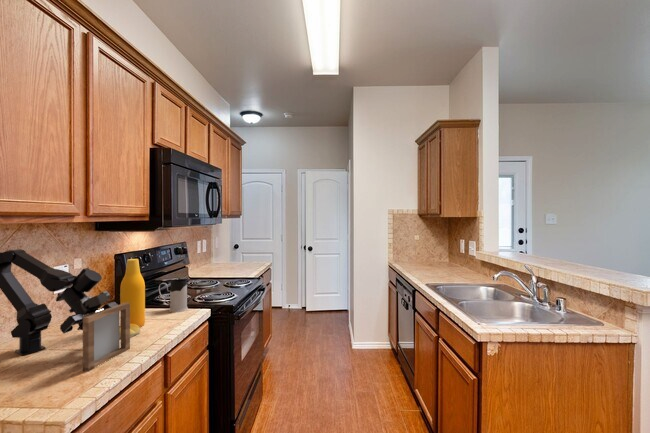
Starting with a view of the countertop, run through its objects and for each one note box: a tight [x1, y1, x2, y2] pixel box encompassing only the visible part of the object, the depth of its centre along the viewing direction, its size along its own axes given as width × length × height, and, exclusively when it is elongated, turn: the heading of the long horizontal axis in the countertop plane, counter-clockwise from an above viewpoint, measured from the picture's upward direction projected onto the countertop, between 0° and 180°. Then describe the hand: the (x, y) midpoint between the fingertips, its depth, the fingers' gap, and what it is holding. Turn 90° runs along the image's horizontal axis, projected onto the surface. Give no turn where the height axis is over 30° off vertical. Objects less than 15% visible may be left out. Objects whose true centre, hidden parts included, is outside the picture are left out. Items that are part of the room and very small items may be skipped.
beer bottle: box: [119, 258, 146, 329], centre depth 137 cm, size 9×9×29 cm
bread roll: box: [119, 324, 141, 340], centre depth 127 cm, size 8×9×4 cm
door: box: [94, 311, 120, 362], centre depth 107 cm, size 6×12×14 cm, turn 172°
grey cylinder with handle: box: [158, 278, 189, 313], centre depth 161 cm, size 9×14×15 cm, turn 94°
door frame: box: [82, 303, 131, 372], centre depth 106 cm, size 2×17×16 cm, turn 172°
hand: (106, 334), depth 111 cm, fingers closed on door, 2 cm apart
